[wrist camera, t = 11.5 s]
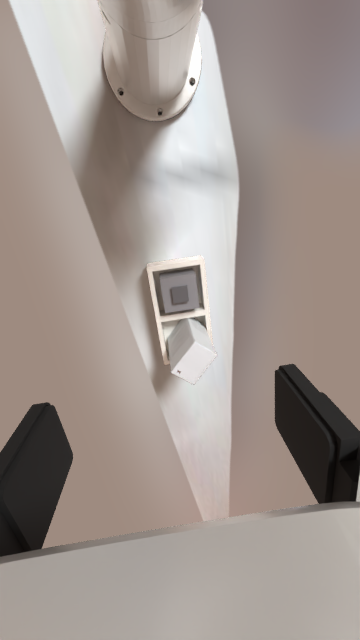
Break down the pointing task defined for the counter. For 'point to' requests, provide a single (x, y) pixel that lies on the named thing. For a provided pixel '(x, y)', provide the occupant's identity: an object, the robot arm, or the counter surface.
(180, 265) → the cream rectangular tray
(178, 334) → the skincare box
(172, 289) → the grey square block
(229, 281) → the counter surface
